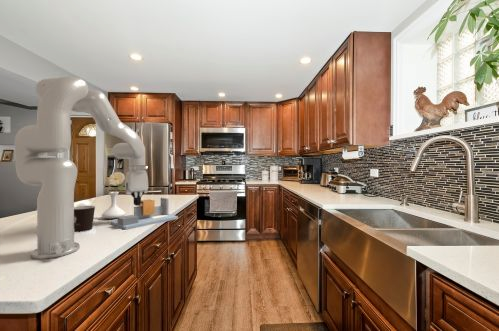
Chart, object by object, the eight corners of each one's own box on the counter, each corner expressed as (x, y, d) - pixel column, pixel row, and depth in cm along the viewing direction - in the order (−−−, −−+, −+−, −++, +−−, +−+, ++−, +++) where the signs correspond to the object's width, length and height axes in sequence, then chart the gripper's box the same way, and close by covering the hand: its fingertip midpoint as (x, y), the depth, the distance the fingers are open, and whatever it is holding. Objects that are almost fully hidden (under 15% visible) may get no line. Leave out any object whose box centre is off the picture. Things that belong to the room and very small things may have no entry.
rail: (178, 218, 126) (178, 199, 126) (126, 229, 105) (125, 206, 105) (161, 214, 136) (161, 196, 136) (111, 223, 115) (111, 203, 115)
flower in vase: (96, 219, 124) (96, 172, 124) (114, 214, 135) (113, 171, 135) (116, 221, 121) (116, 172, 120) (132, 216, 132) (132, 171, 131)
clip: (154, 213, 124) (154, 200, 124) (143, 215, 119) (143, 201, 119) (149, 212, 127) (149, 199, 127) (138, 214, 122) (138, 200, 122)
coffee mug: (95, 230, 104) (95, 207, 104) (70, 233, 99) (70, 210, 99) (94, 224, 114) (94, 204, 113) (72, 227, 109) (72, 205, 109)
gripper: (147, 168, 127) (147, 202, 127) (118, 169, 116) (118, 206, 116) (154, 168, 123) (155, 204, 123) (125, 169, 111) (125, 208, 111)
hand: (137, 205), depth 119 cm, fingers closed
